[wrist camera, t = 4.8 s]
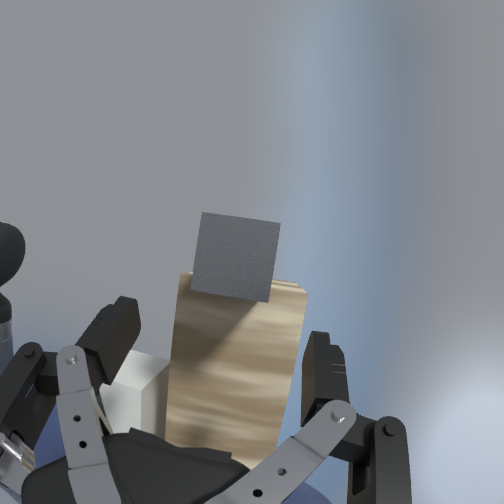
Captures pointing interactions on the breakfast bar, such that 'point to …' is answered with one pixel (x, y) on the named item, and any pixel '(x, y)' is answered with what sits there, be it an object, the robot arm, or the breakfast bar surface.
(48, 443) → the breakfast bar surface
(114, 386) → the block
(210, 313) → the tall wooden block
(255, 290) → the steel bar
